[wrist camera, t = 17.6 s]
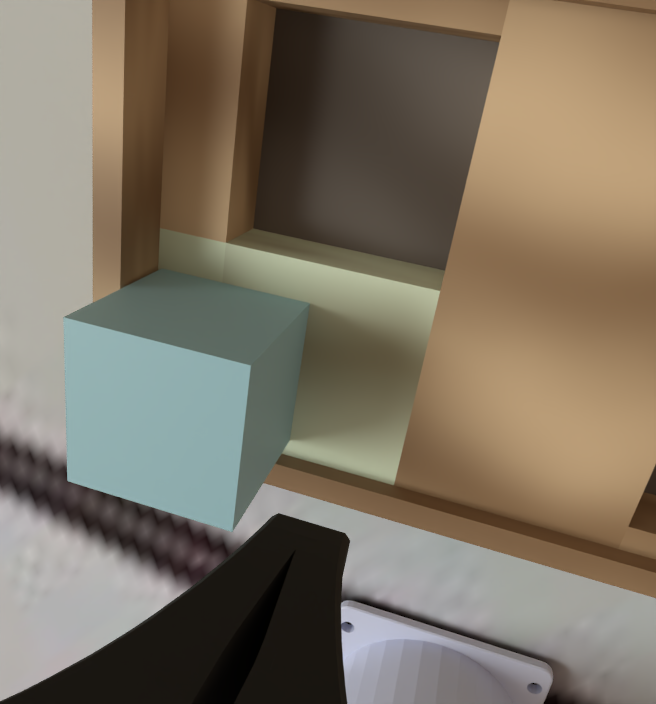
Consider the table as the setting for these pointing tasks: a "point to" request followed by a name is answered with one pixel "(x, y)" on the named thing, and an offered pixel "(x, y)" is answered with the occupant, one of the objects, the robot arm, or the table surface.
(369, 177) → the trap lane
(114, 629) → the table surface
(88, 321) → the teal block
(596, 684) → the table surface
